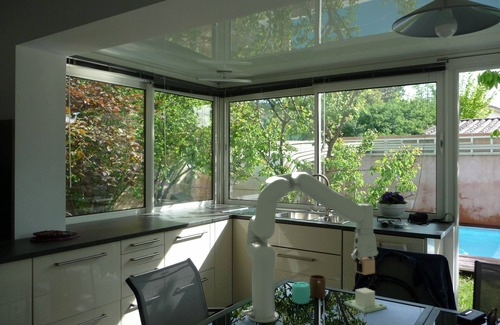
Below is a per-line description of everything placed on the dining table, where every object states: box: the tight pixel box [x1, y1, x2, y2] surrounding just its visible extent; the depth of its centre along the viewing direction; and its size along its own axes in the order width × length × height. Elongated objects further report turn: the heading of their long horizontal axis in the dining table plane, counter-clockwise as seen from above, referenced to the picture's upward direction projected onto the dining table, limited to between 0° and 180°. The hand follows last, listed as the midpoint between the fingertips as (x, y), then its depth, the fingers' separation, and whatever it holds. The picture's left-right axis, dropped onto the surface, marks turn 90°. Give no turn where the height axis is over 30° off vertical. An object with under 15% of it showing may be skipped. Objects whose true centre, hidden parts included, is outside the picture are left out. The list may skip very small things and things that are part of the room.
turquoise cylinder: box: [291, 281, 311, 305], centre depth 188 cm, size 8×8×8 cm
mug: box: [309, 274, 326, 299], centre depth 193 cm, size 12×8×9 cm, turn 178°
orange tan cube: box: [354, 257, 376, 276], centre depth 181 cm, size 6×6×6 cm
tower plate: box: [343, 287, 387, 314], centre depth 181 cm, size 13×13×7 cm
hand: (365, 270), depth 181 cm, fingers closed on orange tan cube, 6 cm apart
